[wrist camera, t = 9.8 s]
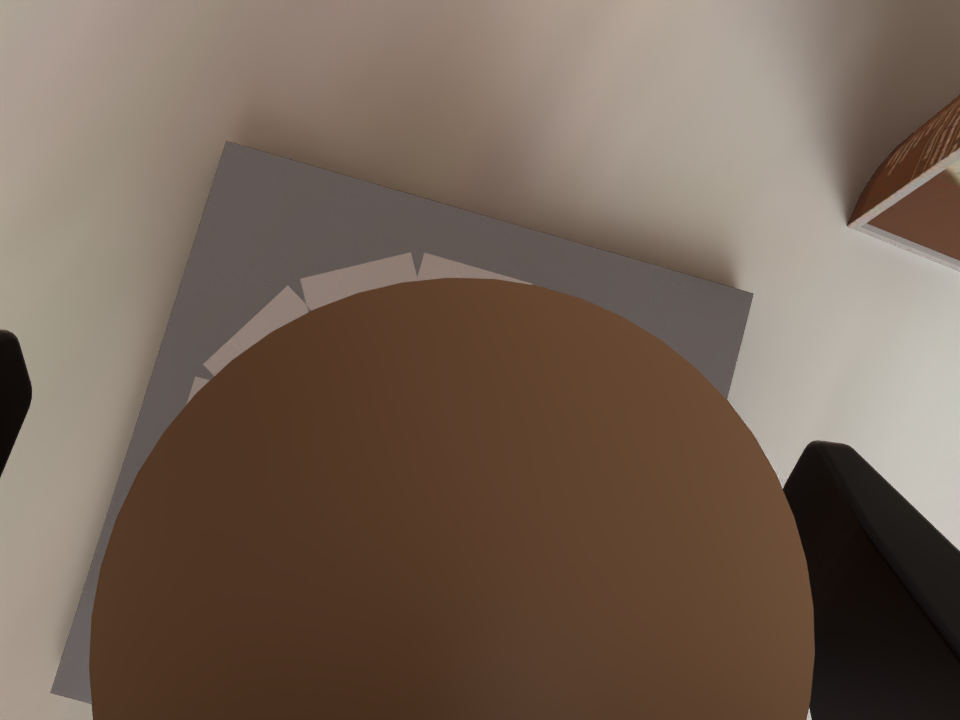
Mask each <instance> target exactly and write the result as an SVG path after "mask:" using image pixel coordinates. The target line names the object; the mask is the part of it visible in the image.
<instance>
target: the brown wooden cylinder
mask: <svg viewBox="0 0 960 720" xmlns="http://www.w3.org/2000/svg"><path fill="white" fill-rule="evenodd" d="M814 657H815V643H814V608H813V601H812V594H811V587H810V581H809V574H808V568H807V561H806V558H805V554H804V550H803V547H802V543H801V540H800V536H799V533H798V529H797V525H796V522H795V518H794V515H793V513H792V511H791V508H790V506H789V504H788V501H787V499H786V496H785V494H784V492H783V489H782V487H781V484H780V482H779V480H778V477H777V475H776V473H775V471H774V470H773V468H772V466H771V464H770V463H769V461H768V459H767V457H766V456H765V454H764V452H763V450H762V449H761V447H760V445H759V443H758V442H757V440H756V438H755V436H754V435H753V434H752V432H751V431H750V430H749V428H748V427H747V426H746V424H745V423H744V422H743V420H742V419H741V418H740V416H739V415H738V414H737V412H736V411H735V410H734V408H733V407H732V406H731V404H730V403H729V402H728V400H727V399H726V398H725V397H724V396H723V395H722V394H721V393H720V392H719V391H718V390H717V389H716V388H715V387H714V386H713V385H712V384H711V383H710V382H709V381H708V380H707V379H706V378H705V377H704V376H703V375H702V374H701V372H700V371H699V370H698V369H697V368H696V367H694V366H693V365H692V364H691V363H689V362H688V361H687V360H686V359H684V358H683V357H682V356H681V355H679V354H678V353H677V352H676V351H674V350H673V349H672V348H670V347H669V346H668V345H667V344H665V343H664V342H663V341H662V340H660V339H659V338H657V337H655V336H654V335H652V334H650V333H649V332H647V331H645V330H644V329H642V328H640V327H639V326H637V325H636V324H634V323H632V322H631V321H629V320H627V319H626V318H624V317H622V316H620V315H618V314H615V313H613V312H611V311H609V310H606V309H604V308H602V307H600V306H597V305H595V304H593V303H590V302H588V301H586V300H584V299H581V298H578V297H574V296H571V295H568V294H564V293H561V292H558V291H554V290H551V289H547V288H544V287H541V286H536V285H530V284H523V283H517V282H511V281H504V280H498V279H480V278H440V279H431V280H421V281H411V282H402V283H398V284H394V285H389V286H385V287H381V288H377V289H372V290H368V291H364V292H360V293H356V294H354V295H351V296H348V297H346V298H343V299H340V300H338V301H335V302H332V303H330V304H327V305H324V306H322V307H319V308H317V309H314V310H312V311H310V312H308V313H306V314H304V315H302V316H301V317H299V318H297V319H295V320H293V321H291V322H289V323H287V324H286V325H284V326H282V327H280V328H278V329H276V330H274V331H272V332H271V333H269V334H268V335H267V336H265V337H264V338H262V339H261V340H260V341H258V342H257V343H255V344H254V345H252V346H251V347H250V348H248V349H247V350H245V351H244V352H243V353H241V354H240V355H238V356H237V357H236V358H234V359H233V360H232V361H230V362H229V363H228V364H227V365H226V366H225V367H224V368H223V369H222V370H221V371H220V372H219V373H217V374H216V375H215V376H214V377H213V378H212V379H211V380H210V381H209V382H208V383H207V384H206V385H204V386H203V387H202V388H201V389H200V390H199V391H198V392H197V393H196V394H195V395H194V396H193V398H192V399H191V400H190V401H189V402H188V404H187V405H186V406H185V407H184V408H183V409H182V411H181V412H180V413H179V414H178V415H177V417H176V418H175V419H174V420H173V421H172V423H171V424H170V425H169V426H168V427H167V429H166V430H165V431H164V433H163V434H162V436H161V437H160V439H159V440H158V442H157V443H156V445H155V447H154V448H153V450H152V451H151V453H150V454H149V456H148V458H147V459H146V461H145V462H144V464H143V465H142V467H141V468H140V470H139V472H138V473H137V475H136V477H135V480H134V482H133V484H132V486H131V488H130V490H129V492H128V494H127V497H126V499H125V501H124V503H123V505H122V507H121V509H120V511H119V514H118V516H117V518H116V521H115V524H114V527H113V530H112V533H111V536H110V539H109V542H108V545H107V548H106V552H105V555H104V558H103V561H102V564H101V567H100V573H99V578H98V584H97V589H96V595H95V600H94V606H93V611H92V616H91V635H90V655H89V676H90V688H91V700H92V711H93V720H806V719H807V714H808V709H809V705H810V700H811V689H812V678H813V668H814Z"/></svg>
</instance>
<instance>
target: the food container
mask: <svg viewBox="0 0 960 720" xmlns="http://www.w3.org/2000/svg"><path fill="white" fill-rule="evenodd" d="M847 226H848V227H851V228H853V229H856V230H858V231H860V232H863V233H865V234H868V235H870V236H873V237H875V238H878V239H880V240H883V241H885V242H888V243H890V244H893V245H895V246H898V247H900V248H903V249H905V250H908V251H910V252H913V253H915V254H918V255H920V256H923V257H925V258H928V259H930V260H933V261H935V262H938V263H940V264H943V265H945V266H948V267H950V268H953V269H955V270H958V271H960V95H959V96H958V97H957V98H956V99H954V100H953V101H952V102H951V103H950V104H948V105H947V106H946V107H945V108H943V109H942V110H941V111H940V112H939V113H937V114H936V115H935V116H934V117H932V118H931V119H930V120H929V121H928V122H926V123H925V124H924V125H923V126H921V127H920V128H919V129H918V130H917V131H915V132H914V133H913V134H912V135H911V136H909V137H908V138H907V139H906V140H904V141H903V142H902V143H901V144H900V145H898V146H897V147H896V148H895V150H894V151H893V152H892V153H891V154H890V155H889V156H888V157H887V158H886V160H885V161H884V162H883V163H882V164H881V165H880V166H879V167H878V169H877V170H876V172H875V173H874V175H873V176H872V178H871V179H870V181H869V182H868V184H867V186H866V187H865V189H864V190H863V192H862V193H861V195H860V197H859V200H858V202H857V204H856V207H855V209H854V211H853V214H852V216H851V218H850V221H849V223H848V225H847Z"/></svg>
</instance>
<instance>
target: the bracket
mask: <svg viewBox="0 0 960 720" xmlns="http://www.w3.org/2000/svg"><path fill="white" fill-rule="evenodd" d="M440 278H480V279H498V280H504V281H511V282H517V283H523V284H530V285H536V286H541V287H544V288H547V289H551V290H554V291H558V292H561V293H564V294H568V295H571V296H574V297H578V298H581V299H584V300H586V301H588V302H590V303H593V304H595V305H597V306H600V307H602V308H604V309H606V310H609V311H611V312H613V313H615V314H618V315H620V316H622V317H624V318H626V319H627V320H629V321H631V322H632V323H634V324H636V325H637V326H639V327H640V328H642V329H644V330H645V331H647V332H649V333H650V334H652V335H654V336H655V337H657V338H659V339H660V340H662V341H663V342H664V343H665V344H667V345H668V346H669V347H670V348H672V349H673V350H674V351H676V352H677V353H678V354H679V355H681V356H682V357H683V358H684V359H686V360H687V361H688V362H689V363H691V364H692V365H693V366H694V367H696V368H697V369H698V370H699V371H700V372H701V374H702V375H703V376H704V377H705V378H706V379H707V380H708V381H709V382H710V383H711V384H712V385H713V386H714V387H715V388H716V389H717V390H718V391H719V392H720V393H721V394H722V395H723V396H724V397H725V398H726V399H727V397H728V393H729V389H730V385H731V381H732V377H733V373H734V369H735V365H736V361H737V357H738V353H739V349H740V345H741V341H742V337H743V333H744V329H745V325H746V321H747V317H748V313H749V309H750V305H751V302H752V298H753V293H749V292H746V291H743V290H739V289H736V288H732V287H729V286H725V285H722V284H718V283H715V282H712V281H708V280H705V279H701V278H698V277H694V276H691V275H687V274H684V273H681V272H677V271H674V270H670V269H667V268H663V267H660V266H656V265H653V264H649V263H646V262H643V261H639V260H636V259H632V258H629V257H625V256H622V255H618V254H615V253H612V252H608V251H605V250H601V249H598V248H594V247H591V246H587V245H584V244H581V243H577V242H574V241H570V240H567V239H563V238H560V237H556V236H553V235H549V234H546V233H543V232H539V231H536V230H532V229H529V228H525V227H522V226H518V225H515V224H512V223H508V222H505V221H501V220H498V219H494V218H491V217H487V216H484V215H481V214H477V213H474V212H470V211H467V210H463V209H460V208H456V207H453V206H450V205H446V204H443V203H439V202H436V201H432V200H429V199H425V198H422V197H418V196H415V195H412V194H408V193H405V192H401V191H398V190H394V189H391V188H387V187H384V186H381V185H377V184H374V183H370V182H367V181H363V180H360V179H356V178H353V177H350V176H346V175H343V174H339V173H336V172H332V171H329V170H325V169H322V168H318V167H315V166H312V165H308V164H305V163H301V162H298V161H294V160H291V159H287V158H284V157H281V156H277V155H274V154H270V153H267V152H263V151H260V150H256V149H253V148H250V147H246V146H243V145H239V144H236V143H232V142H229V141H226V143H225V147H224V150H223V153H222V156H221V159H220V162H219V165H218V169H217V172H216V175H215V178H214V181H213V184H212V187H211V190H210V194H209V197H208V200H207V203H206V206H205V209H204V212H203V216H202V219H201V222H200V225H199V228H198V231H197V234H196V238H195V241H194V244H193V247H192V250H191V253H190V256H189V260H188V263H187V266H186V269H185V272H184V275H183V278H182V281H181V285H180V288H179V291H178V294H177V297H176V300H175V303H174V307H173V310H172V313H171V316H170V319H169V322H168V325H167V329H166V332H165V335H164V338H163V341H162V344H161V347H160V351H159V354H158V357H157V360H156V363H155V366H154V369H153V373H152V376H151V379H150V382H149V385H148V388H147V391H146V394H145V398H144V401H143V404H142V407H141V410H140V413H139V416H138V420H137V423H136V426H135V429H134V432H133V435H132V438H131V442H130V445H129V448H128V451H127V454H126V457H125V460H124V464H123V467H122V470H121V473H120V476H119V479H118V482H117V485H116V489H115V492H114V495H113V498H112V501H111V504H110V507H109V511H108V514H107V517H106V520H105V523H104V526H103V529H102V533H101V536H100V539H99V542H98V545H97V548H96V551H95V555H94V558H93V561H92V564H91V567H90V570H89V573H88V577H87V580H86V583H85V586H84V589H83V592H82V595H81V598H80V602H79V605H78V608H77V611H76V614H75V617H74V620H73V624H72V627H71V630H70V633H69V636H68V639H67V642H66V646H65V649H64V652H63V655H62V658H61V661H60V664H59V668H58V671H57V674H56V677H55V680H54V683H53V686H52V689H51V693H52V694H56V695H60V696H64V697H67V698H71V699H75V700H79V701H83V702H86V703H90V704H92V700H91V688H90V676H89V655H90V635H91V616H92V611H93V606H94V600H95V595H96V589H97V584H98V578H99V573H100V567H101V564H102V561H103V558H104V555H105V552H106V548H107V545H108V542H109V539H110V536H111V533H112V530H113V527H114V524H115V521H116V518H117V516H118V514H119V511H120V509H121V507H122V505H123V503H124V501H125V499H126V497H127V494H128V492H129V490H130V488H131V486H132V484H133V482H134V480H135V477H136V475H137V473H138V472H139V470H140V468H141V467H142V465H143V464H144V462H145V461H146V459H147V458H148V456H149V454H150V453H151V451H152V450H153V448H154V447H155V445H156V443H157V442H158V440H159V439H160V437H161V436H162V434H163V433H164V431H165V430H166V429H167V427H168V426H169V425H170V424H171V423H172V421H173V420H174V419H175V418H176V417H177V415H178V414H179V413H180V412H181V411H182V409H183V408H184V407H185V406H186V405H187V404H188V402H189V401H190V400H191V399H192V398H193V396H194V395H195V394H196V393H197V392H198V391H199V390H200V389H201V388H202V387H203V386H204V385H206V384H207V383H208V382H209V381H210V380H211V379H212V378H213V377H214V376H215V375H216V374H217V373H219V372H220V371H221V370H222V369H223V368H224V367H225V366H226V365H227V364H228V363H229V362H230V361H232V360H233V359H234V358H236V357H237V356H238V355H240V354H241V353H243V352H244V351H245V350H247V349H248V348H250V347H251V346H252V345H254V344H255V343H257V342H258V341H260V340H261V339H262V338H264V337H265V336H267V335H268V334H269V333H271V332H272V331H274V330H276V329H278V328H280V327H282V326H284V325H286V324H287V323H289V322H291V321H293V320H295V319H297V318H299V317H301V316H302V315H304V314H306V313H308V312H310V311H312V310H314V309H317V308H319V307H322V306H324V305H327V304H330V303H332V302H335V301H338V300H340V299H343V298H346V297H348V296H351V295H354V294H356V293H360V292H364V291H368V290H372V289H377V288H381V287H385V286H389V285H394V284H398V283H402V282H411V281H421V280H431V279H440Z"/></svg>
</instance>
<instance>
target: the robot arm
mask: <svg viewBox="0 0 960 720" xmlns="http://www.w3.org/2000/svg"><path fill="white" fill-rule="evenodd" d="M31 399H32V386H31V381H30V378H29V375H28V371H27V368H26V364H25V361H24V357H23V354H22V351H21V347H20V344H19V341H18V339H17V337H16V336H15V335H14V334H13V333H12V332H9V331H7V330H1V329H0V477H1V474H2V472H3V470H4V467H5V465H6V462H7V460H8V458H9V455H10V453H11V450H12V448H13V446H14V443H15V441H16V438H17V436H18V434H19V431H20V429H21V426H22V424H23V422H24V419H25V417H26V414H27V412H28V409H29V407H30V403H31ZM783 492H784V494H785V496H786V499H787V501H788V504H789V506H790V508H791V511H792V513H793V515H794V518H795V522H796V525H797V529H798V533H799V536H800V540H801V543H802V547H803V550H804V554H805V558H806V561H807V568H808V574H809V581H810V587H811V594H812V601H813V608H814V643H815V657H814V668H813V678H812V689H811V700H810V705H809V708H810V713H811V718H812V720H960V551H959V550H958V549H957V548H956V547H955V546H954V545H953V544H952V543H951V542H950V541H949V540H948V539H946V538H945V537H944V536H943V535H942V534H941V533H940V532H939V531H938V530H937V529H936V528H935V527H934V526H933V525H932V524H931V523H930V522H929V521H928V520H927V519H926V518H925V517H924V516H923V515H922V514H921V513H919V512H918V511H917V510H916V509H915V508H914V507H913V506H912V505H911V504H910V503H909V502H908V501H907V500H906V499H905V498H904V497H903V496H902V495H901V494H900V493H899V492H898V491H897V490H896V489H895V488H894V487H892V486H891V485H890V484H889V483H888V482H887V481H886V480H885V479H884V478H883V477H882V476H881V475H880V474H879V473H878V472H877V471H876V470H875V469H874V468H873V467H872V466H871V465H870V464H869V463H868V462H867V461H865V460H864V459H863V458H862V457H861V456H860V455H859V454H858V453H857V452H856V451H855V450H854V449H853V448H852V447H850V446H848V445H846V444H842V443H835V442H828V441H820V440H817V441H812V442H811V443H809V444H808V445H807V447H806V448H805V449H804V451H803V453H802V455H801V456H800V458H799V460H798V462H797V464H796V465H795V467H794V469H793V471H792V473H791V474H790V476H789V478H788V480H787V481H786V483H785V485H784V488H783Z"/></svg>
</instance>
